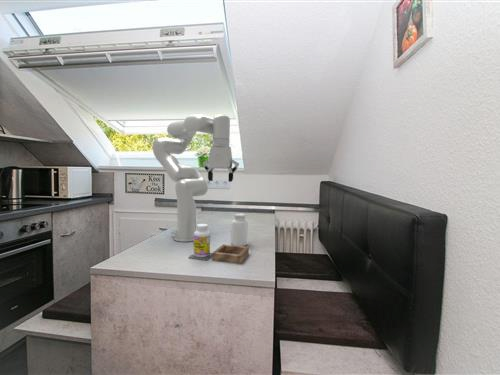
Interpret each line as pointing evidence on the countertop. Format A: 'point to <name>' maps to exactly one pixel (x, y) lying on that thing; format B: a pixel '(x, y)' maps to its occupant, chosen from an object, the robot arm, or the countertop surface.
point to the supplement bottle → (202, 241)
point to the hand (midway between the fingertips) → (220, 181)
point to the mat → (200, 257)
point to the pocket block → (231, 258)
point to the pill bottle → (239, 230)
